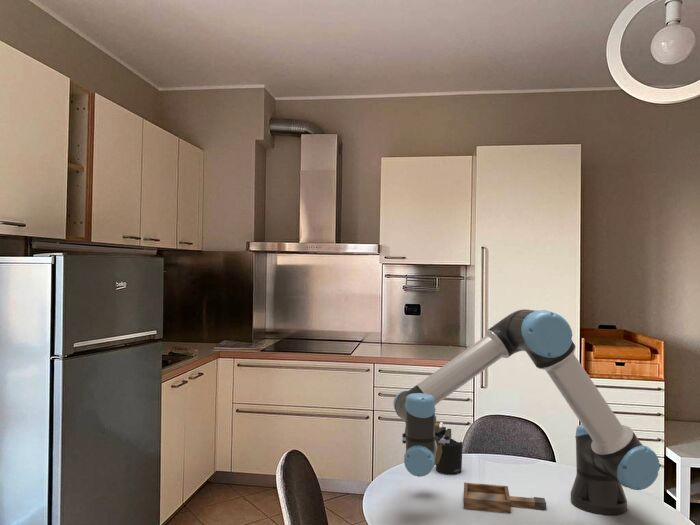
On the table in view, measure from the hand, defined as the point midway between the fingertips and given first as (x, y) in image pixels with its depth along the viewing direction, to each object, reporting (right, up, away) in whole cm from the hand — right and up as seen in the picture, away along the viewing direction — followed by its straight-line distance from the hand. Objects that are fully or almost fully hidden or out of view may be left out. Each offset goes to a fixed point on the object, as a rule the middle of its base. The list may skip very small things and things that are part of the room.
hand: (430, 425), depth 171 cm
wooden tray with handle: (+20, -19, -13) cm, 30 cm away
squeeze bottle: (-1, -10, -6) cm, 11 cm away
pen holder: (+9, -21, +16) cm, 28 cm away
